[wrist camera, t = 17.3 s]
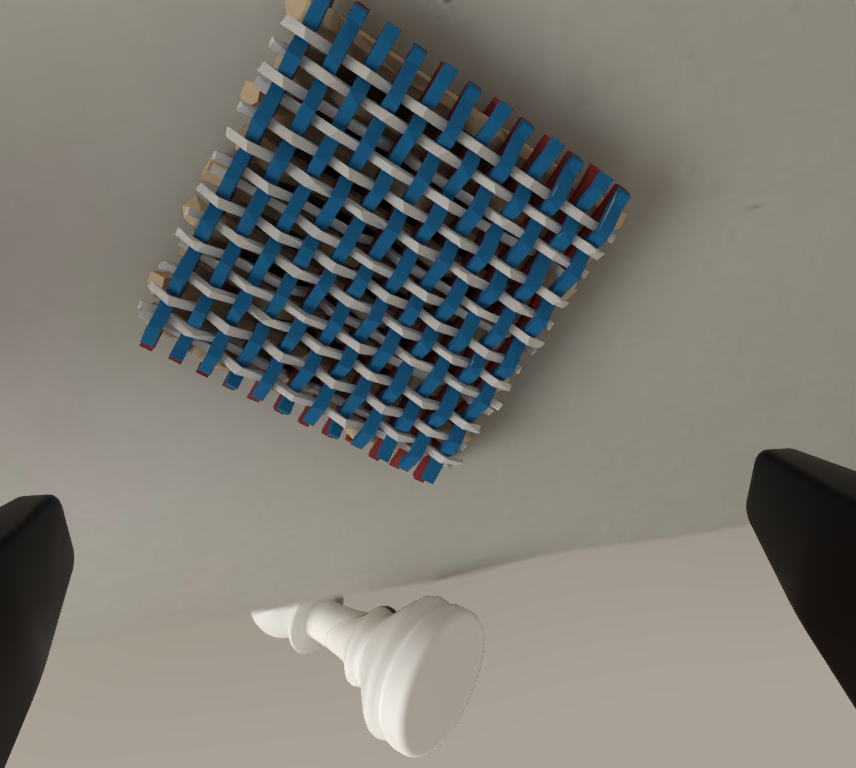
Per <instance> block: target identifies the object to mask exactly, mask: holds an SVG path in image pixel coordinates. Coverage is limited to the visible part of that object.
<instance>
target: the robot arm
mask: <svg viewBox="0 0 856 768" xmlns="http://www.w3.org/2000/svg"><path fill="white" fill-rule="evenodd" d="M746 509H747V515H748V519H749V521H750V524H751V526H752V528H753V530H754V532H755V533H756V536H757V538H758V540H759V542H760V544H761V546H762V548H763V550H764V552H765V554H766V556H767V558H768V560H769V562H770V564H771V566H772V568H773V570H774V572H775V574H776V576H777V578H778V580H779V582H780V584H781V586H782V588H783V590H784V592H785V594H786V596H787V598H788V600H789V602H790V604H791V605H792V607H793V609H794V611H795V613H796V615H797V616H798V618H799V620H800V622H801V623H802V625H803V627H804V628H805V630H806V631H807V633H808V635H809V636H810V638H811V639H812V641H813V643H814V644H815V646H816V647H817V649H818V650H819V652H820V654H821V655H822V657H823V658H824V660H825V661H826V663H827V664H828V666H829V668H830V669H831V671H832V672H833V674H834V675H835V677H836V679H837V680H838V682H839V683H840V685H841V686H842V688H843V690H844V691H845V693H846V694H847V696H848V697H849V699H850V701H851V702H852V704H853V705H854V707H855V708H856V471H854V470H851V469H848V468H845V467H843V466H840V465H837V464H834V463H831V462H829V461H826V460H823V459H820V458H818V457H815V456H812V455H809V454H806V453H804V452H801V451H798V450H795V449H789V448H785V449H770V450H763V451H762V452H760V453H759V454H758V456H757V457H756V460H755V463H754V468H753V473H752V478H751V483H750V488H749V492H748V497H747V504H746ZM73 565H74V550H73V546H72V542H71V538H70V534H69V531H68V527H67V523H66V519H65V516H64V512H63V508H62V505H61V503H60V501H59V499H58V498H57V497H55V496H54V495H32V496H22V497H18V498H16V499H14V500H12V501H10V502H8V503H7V504H5V505H3V506H1V507H0V768H4V767H5V765H6V763H7V760H8V758H9V755H10V753H11V751H12V748H13V746H14V743H15V741H16V739H17V736H18V734H19V731H20V729H21V727H22V724H23V722H24V719H25V717H26V715H27V712H28V710H29V707H30V705H31V702H32V700H33V697H34V695H35V693H36V690H37V687H38V685H39V682H40V680H41V677H42V674H43V670H44V667H45V664H46V661H47V658H48V654H49V651H50V647H51V644H52V640H53V637H54V633H55V630H56V626H57V623H58V619H59V616H60V612H61V609H62V605H63V602H64V598H65V595H66V591H67V588H68V584H69V581H70V577H71V574H72V570H73Z"/></svg>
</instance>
